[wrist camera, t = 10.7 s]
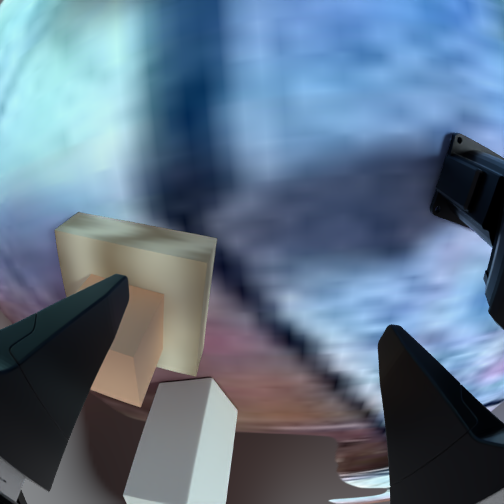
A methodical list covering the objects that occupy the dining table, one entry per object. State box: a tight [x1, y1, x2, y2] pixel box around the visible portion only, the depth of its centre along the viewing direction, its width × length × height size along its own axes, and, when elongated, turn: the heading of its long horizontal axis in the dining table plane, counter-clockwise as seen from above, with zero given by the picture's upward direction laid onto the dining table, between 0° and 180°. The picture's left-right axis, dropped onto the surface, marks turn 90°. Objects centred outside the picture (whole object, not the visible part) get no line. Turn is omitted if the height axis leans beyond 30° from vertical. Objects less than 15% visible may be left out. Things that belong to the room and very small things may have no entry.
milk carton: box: [123, 378, 237, 504], centre depth 24 cm, size 7×7×19 cm
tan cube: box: [76, 274, 164, 407], centre depth 19 cm, size 6×6×6 cm
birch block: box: [55, 212, 217, 376], centre depth 23 cm, size 12×12×4 cm
